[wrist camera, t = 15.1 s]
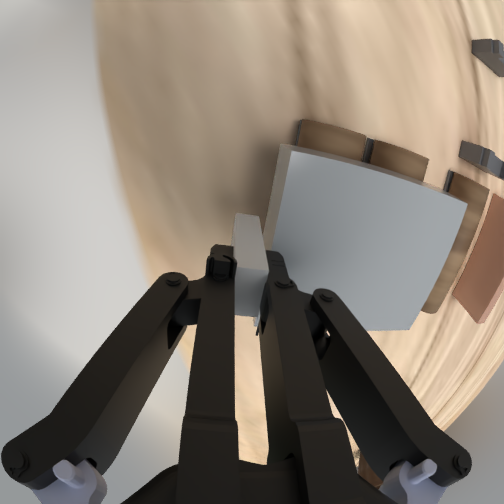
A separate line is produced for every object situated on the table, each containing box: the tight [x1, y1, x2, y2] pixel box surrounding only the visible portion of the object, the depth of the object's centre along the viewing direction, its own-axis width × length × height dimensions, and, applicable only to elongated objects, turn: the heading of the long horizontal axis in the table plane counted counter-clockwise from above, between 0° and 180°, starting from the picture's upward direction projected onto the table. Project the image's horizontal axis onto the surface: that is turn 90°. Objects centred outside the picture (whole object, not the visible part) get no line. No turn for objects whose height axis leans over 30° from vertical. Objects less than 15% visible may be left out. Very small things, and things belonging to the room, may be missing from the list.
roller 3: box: [421, 172, 490, 314], centre depth 25 cm, size 16×5×5 cm, turn 171°
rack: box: [459, 39, 504, 180], centre depth 16 cm, size 16×6×4 cm, turn 171°
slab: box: [253, 143, 468, 331], centre depth 19 cm, size 12×14×4 cm
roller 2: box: [369, 140, 429, 181], centre depth 23 cm, size 16×5×5 cm, turn 171°
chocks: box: [295, 120, 454, 192], centre depth 25 cm, size 16×23×1 cm
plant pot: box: [358, 452, 383, 489], centre depth 54 cm, size 15×15×16 cm
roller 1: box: [297, 119, 366, 161], centre depth 23 cm, size 16×5×5 cm, turn 171°
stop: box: [452, 194, 504, 324], centre depth 25 cm, size 16×2×7 cm, turn 171°
